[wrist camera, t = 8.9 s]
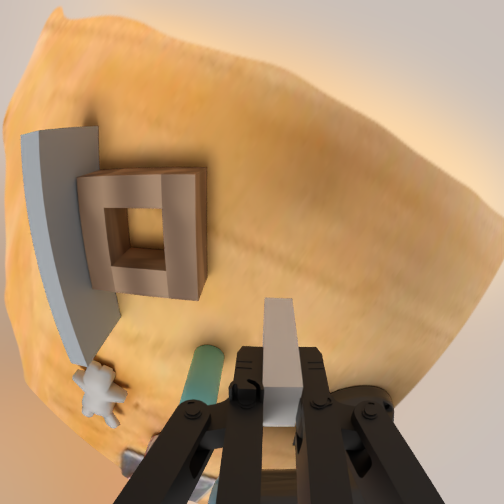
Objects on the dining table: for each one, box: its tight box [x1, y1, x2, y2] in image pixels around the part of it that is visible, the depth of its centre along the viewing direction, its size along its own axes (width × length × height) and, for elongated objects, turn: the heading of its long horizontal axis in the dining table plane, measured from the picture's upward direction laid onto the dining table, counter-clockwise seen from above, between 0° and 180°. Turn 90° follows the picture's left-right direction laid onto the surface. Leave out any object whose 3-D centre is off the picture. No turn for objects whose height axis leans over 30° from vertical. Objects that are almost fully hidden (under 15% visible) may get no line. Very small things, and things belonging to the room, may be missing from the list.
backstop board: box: [21, 126, 121, 367], centre depth 27 cm, size 2×24×10 cm, turn 178°
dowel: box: [179, 345, 224, 405], centre depth 31 cm, size 4×4×13 cm
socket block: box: [76, 167, 207, 301], centre depth 28 cm, size 12×12×5 cm
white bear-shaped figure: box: [73, 360, 128, 428], centre depth 40 cm, size 10×5×15 cm
